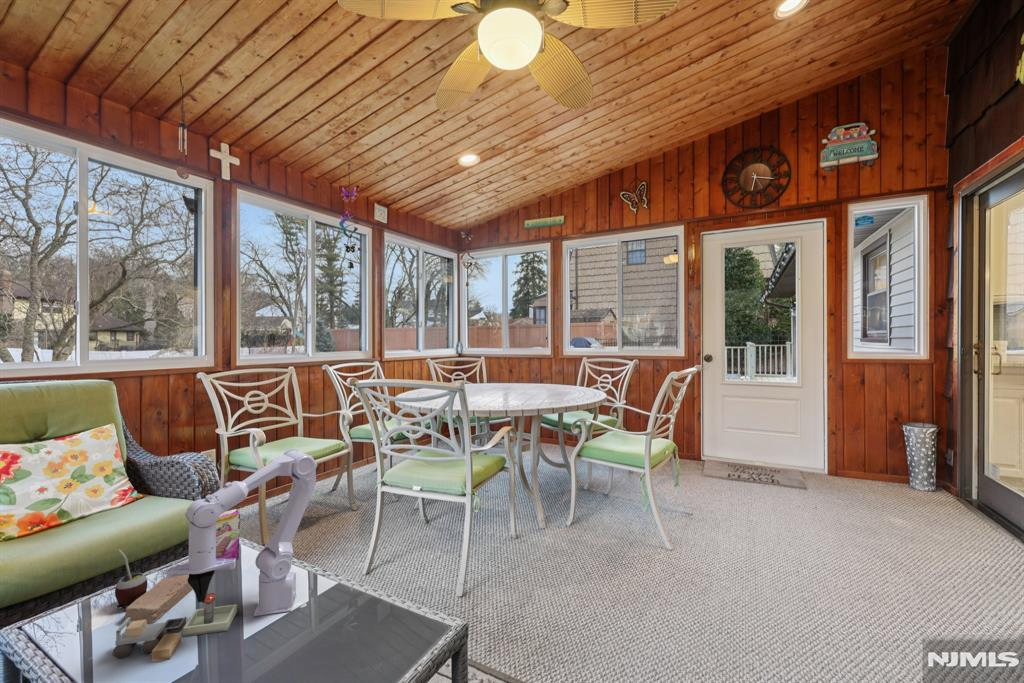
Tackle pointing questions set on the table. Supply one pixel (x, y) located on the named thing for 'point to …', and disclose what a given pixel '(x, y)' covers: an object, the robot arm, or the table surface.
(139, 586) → the mate gourd
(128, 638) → the trolley
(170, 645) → the block
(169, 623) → the socket
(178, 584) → the brick
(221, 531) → the candy bar box
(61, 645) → the table surface
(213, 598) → the pin
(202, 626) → the tray
